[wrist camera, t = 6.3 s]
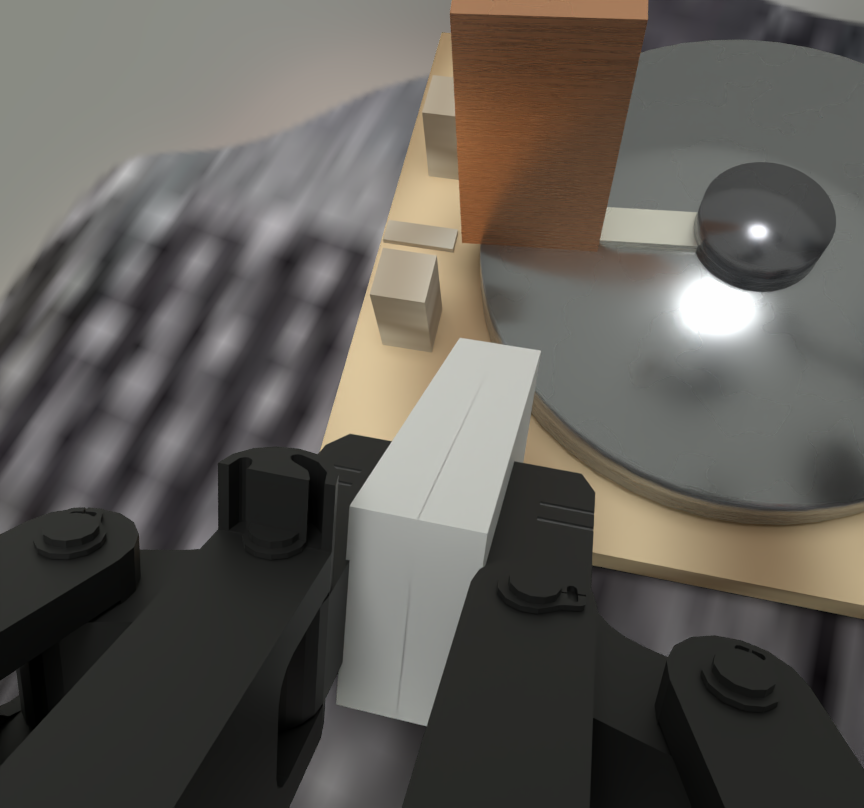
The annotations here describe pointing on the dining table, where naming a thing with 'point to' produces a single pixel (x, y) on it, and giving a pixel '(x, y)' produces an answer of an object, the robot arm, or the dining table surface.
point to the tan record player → (464, 318)
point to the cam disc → (672, 250)
